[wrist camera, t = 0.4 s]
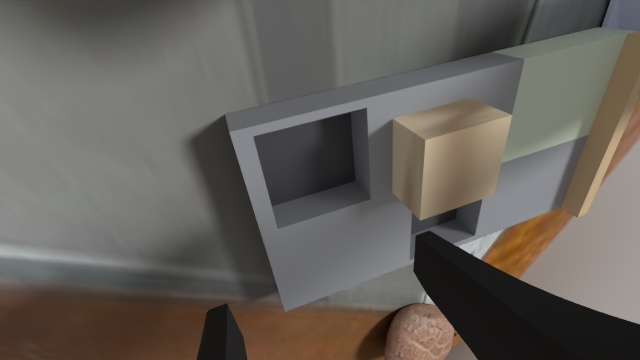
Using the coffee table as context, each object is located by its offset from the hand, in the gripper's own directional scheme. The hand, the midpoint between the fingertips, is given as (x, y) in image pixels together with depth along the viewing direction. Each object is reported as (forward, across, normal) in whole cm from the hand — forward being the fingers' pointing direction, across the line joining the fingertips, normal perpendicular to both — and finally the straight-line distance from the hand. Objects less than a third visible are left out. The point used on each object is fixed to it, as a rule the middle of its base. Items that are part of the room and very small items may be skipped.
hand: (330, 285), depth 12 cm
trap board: (+9, -11, +3) cm, 15 cm away
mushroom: (+10, -10, +23) cm, 27 cm away
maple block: (+7, -9, 0) cm, 11 cm away
